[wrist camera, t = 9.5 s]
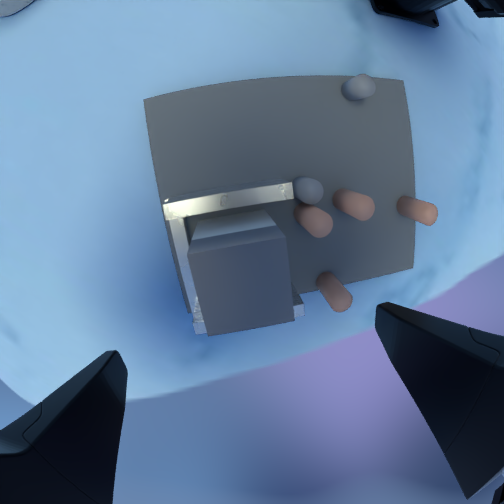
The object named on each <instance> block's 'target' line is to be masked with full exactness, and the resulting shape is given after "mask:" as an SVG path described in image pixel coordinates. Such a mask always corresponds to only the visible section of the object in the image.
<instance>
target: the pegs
mask: <svg viewBox="0 0 504 504" xmlns="http://www.w3.org/2000/svg"><path fill="white" fill-rule="evenodd" d="M375 90H376V86H375V83H374V81H373V79H372V78H371V77H370V76H368V75H366V74H360V75H358V76H356V77H354V78H352V79H350V80H348V81H346V82H344V83H343V84H342V86H341V92H342V95H343V96H344V97H345V98H346V99H347V100H349V101H357V100H359V99H362V98H365V97H369V96H371V95H373V94H374V93H375ZM292 186H293V195H294V197H296V198H298V199H299V200H301V201H303V202H302V203H300V204H298V205H297V206H296V208H295V210H294V218H295V220H296V221H297V222H298V223H299V224H300V225H302V226H303V227H304V228H305V229H306V230H307V231H308V232H309V233H310V234H311V235H313V236H314V237H317V238H322V237H325V236H327V235H328V234H329V233H330V232H331V230H332V227H333V220H332V218H331V216H330V215H329V214H328V213H326V212H324V211H323V210H321V209H319V208H317V207H316V206H314V205H312V204H316V203H318V202H319V201H320V200H321V199H322V197H323V192H324V191H323V186H322V184H321V183H320V182H319V181H317V180H315V179H312V178H308V177H305V176H299V177H296V178H295V179H294V180H293V181H292ZM332 201H333V205H334V206H335V207H336V208H337V209H339V210H341V211H342V212H344V213H346V214H348V215H350V216H352V217H354V218H356V219H358V220H360V221H366V220H368V219H370V218H371V217H372V215H373V213H374V210H375V204H374V202H373V200H372V199H371V198H370V197H369V196H366V195H363V194H360V193H357V192H354V191H351V190H348V189H344V188H342V189H338V190H337V191H336V192H335V193H334V195H333V199H332ZM397 211H398V212H399V213H400V214H401V215H403V216H406V217H408V218H411V219H413V220H415V221H418V222H420V223H422V224H425V225H427V226H431V225H433V224H434V223H435V221H436V219H437V216H438V210H437V208H436V206H435V205H434V204H431V203H428V202H425V201H422V200H418V199H415V198H412V197H409V196H402V197H400V198H399V200H398V202H397ZM316 285H317V287H318V289H319V290H320V292H321V293H322V295H323V296H324V297H325V299H326V300H327V302H328V303H329V305H330V306H331V308H332V309H333V310H334V311H336V312H343V311H345V310H347V309H348V308H349V307H350V306H351V304H352V300H353V299H352V295H351V294H350V293H349V292H348V290H347V289H346V288H345V287H344V286H343V285H342V284H341V282H340V281H339V280H338V279H337V278H336V277H335V276H334V274H332V273H331V272H323V273H321V274H320V275H319V276H318V278H317V280H316Z"/></svg>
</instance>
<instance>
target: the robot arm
mask: <svg viewBox="0 0 504 504" xmlns="http://www.w3.org/2000/svg"><path fill="white" fill-rule="evenodd" d="M370 1H371V3H372V6H373V9H374V10H375V11H376V12H377V13H379V14H383V15H388V16H393V17H397V18H401V19H405V20H409V21H413V22H416V23H420V24H423V25H427V26H430V27H433V28H435V27H438V26H439V22H438V19H437V17H436V14H435V10H437V9H440V8H442V7H444V6H446V5H448V4H450V3H452V2H455V1H457V0H370ZM465 2H466V3H467V4H468V5H469V6H470V7H471V8H472V9H473V10H474V13H475V14H476V15H477V16H478V17H479V18H485V17H488V18H491V17H504V0H465ZM378 6H379V7H380V8H381V9H380V8H379V7H378ZM375 329H376V332H377V334H378V336H379V338H380V339H381V342H382V344H383V346H384V348H385V350H386V352H387V354H388V357H389V359H390V361H391V363H392V364H393V366H394V368H395V370H396V371H397V373H398V374H399V376H400V378H401V379H402V381H403V383H404V384H405V386H406V387H407V389H408V391H409V393H410V394H411V396H412V398H413V399H414V401H415V403H416V404H417V406H418V408H419V410H420V411H421V413H422V415H423V416H424V418H425V420H426V422H427V424H428V426H429V427H430V429H431V431H432V433H433V434H434V436H435V438H436V440H437V442H438V444H439V445H440V447H441V449H442V451H443V453H445V454H444V455H445V457H446V459H447V461H448V463H449V464H450V467H451V469H452V471H453V473H454V475H455V477H456V479H457V481H458V483H459V485H460V487H461V489H462V491H463V493H464V495H465V497H466V499H467V500H468V499H469V498H471V497H472V496H473V495H475V494H476V493H478V492H479V491H480V490H482V489H483V488H484V487H486V486H487V485H488V484H490V483H491V482H492V481H493V480H495V479H496V478H497V477H498V476H499V475H501V474H503V476H504V336H501V335H496V334H492V333H488V332H484V331H481V330H477V329H474V328H471V327H469V328H468V327H467V326H464V325H461V324H458V323H454V322H451V321H448V320H445V319H441V318H438V317H435V316H432V315H428V314H425V313H422V312H419V311H416V310H412V309H409V308H406V307H403V306H400V305H396V304H393V303H390V302H385V303H381V304H378V305H377V307H376V317H375ZM127 376H128V372H127V368H126V366H125V364H124V362H123V360H122V358H121V356H120V354H119V352H118V351H116V350H113V351H106V352H105V353H103V354H102V355H101V356H99V357H98V358H97V359H95V360H94V361H93V362H92V363H90V364H89V365H88V366H86V367H85V368H84V369H82V370H81V371H80V372H79V373H77V374H76V375H75V376H73V377H72V378H71V379H69V380H68V381H67V382H66V383H64V384H63V385H62V386H60V387H59V388H58V389H57V390H55V391H54V392H53V393H51V394H50V395H49V396H48V397H46V398H45V399H44V400H43V401H42V402H40V403H39V404H37V405H36V406H35V407H33V408H32V409H31V410H29V411H28V412H27V413H25V414H24V415H23V416H21V417H20V418H18V419H17V420H15V421H14V422H12V423H11V424H9V425H8V426H6V427H5V428H3V429H2V430H0V504H112V503H113V491H114V481H115V472H116V464H117V455H118V449H119V442H120V436H121V429H122V423H123V417H124V411H125V401H126V388H127ZM492 504H504V483H503V484H502V485H501V486H500V487H499V488H498V489H496V490H495V493H494V497H493V501H492Z"/></svg>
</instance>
